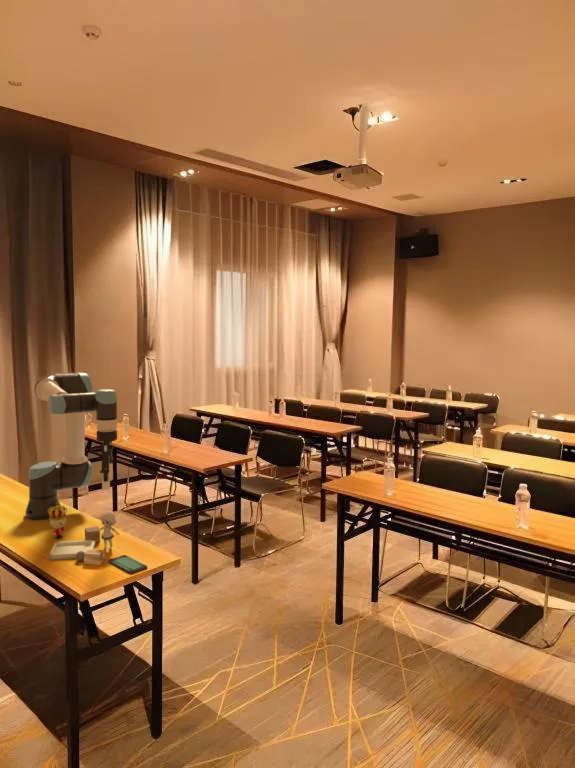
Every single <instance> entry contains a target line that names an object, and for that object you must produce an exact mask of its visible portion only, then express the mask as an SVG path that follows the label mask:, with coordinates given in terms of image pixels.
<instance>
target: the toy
mask: <svg viewBox="0 0 575 768" xmlns="http://www.w3.org/2000/svg"><path fill="white" fill-rule="evenodd" d="M59 502H60V501H59ZM59 502H57V503H59ZM53 508H54V509H53ZM60 508H61V509H60ZM49 510H50V511H49ZM54 510H55V512H53V511H54ZM60 510H61V511H60ZM67 511H68V508H67V507H66V506H64V505H61V507H60V506H59V505H58V504H57V505H56V506H55V507H54V506H53V507H51V508H50V509H48V513H49V525H50V526H51V527H52V528H54V529H55V530H54V531H52V534H53V536H55V539H61V538H62V537H63V534H64V533H63V531H64V530H65V525H66V524H67V523H66V522H67Z"/></svg>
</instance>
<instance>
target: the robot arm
mask: <svg viewBox="0 0 575 768" xmlns="http://www.w3.org/2000/svg"><path fill="white" fill-rule="evenodd" d="M34 393H35V395H36V396H37V397H38V399H40V401H41V400H42V401H44V402H47V407H48V410H49V414H51V415H63V414H64V456H63V457H62V458H60V459H61V460H60V462H61V463H59V464H57V462H56V461H54V460H53V461H50V460H49V461H42V462H38V463H36V464H33V465H32V466H30V467H29V468H28V469H29V470H28V478H27V479H28V492H29V493H28V494H29V495H28V496H29V497H28V502H27V504H26V508H25V518H27V519H30V520H34V521H35V520H38V521H39V520H48V519H49V513H48V509H50V508H51V507H53V506H54V507H55V506H56V505H57V504H58V505H59V506H60V507H61V506H62V505H61V503H60V500H59V497H58V491H61V490H62V491H63V490H67V489H75V488H82V487H87V486H88V485H90V483H91V481H92V477H93V469H92V467H93V465H92V462H91V461H90V460H89V459H88V457H87V456H86V455H85V442H86V441H85V440H86V439H85V435H86V434H85V433H86V432H85V430H86V429H85V428H86V413H93V412H94V413H95V412H96V413H95V417H96V421H95V422H94V424H95V425H96V430H97V431H96V441H98V442H102V443H103V444H102V445H101V448H100V449H101V470H100V471H99V473H100V474H101V481H102V482H101V490H102V491H104V490H105V491H106V490H109V491H110V490H111V485H110V484H111V480H114V470H113V467H114V464H115V459H114V455H113V449H114V448H113V447H114V445H113V442H115V441H117V440H118V431H117V429H118V406H117V405H118V397H117V391H116V390H115V389H111V388H102V389H97V390H95V391H94V387H93V382H92V379H91V377H90V375H89V374H88V373H86V372H64V373H63V372H62V373H57V372H55V373H48V374H46V375H43V376H42V377H40V378H39V379H38V380H37V381H36V383H35V385H34ZM113 463H114V464H113ZM57 502H59V503H57ZM61 508H62V507H61ZM61 508H60V509H61ZM53 509H54V508H53ZM49 511H50V510H49ZM60 511H61V510H60ZM53 512H55V510H54V511H53ZM49 520H50V519H49Z"/></svg>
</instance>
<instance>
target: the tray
mask: <svg viewBox="0 0 575 768" xmlns="http://www.w3.org/2000/svg"><path fill="white" fill-rule="evenodd" d="M95 546H96V543H95V539H94V540H85V539H80V540H64V541H62V540H61V541H55V542H54V544H53V545H52V548H51V550H50V552H49V554H48V560H49V561H51V560H55V561H56V560H68V559H76V554H77V553H78V552H79V551H83V552H86V551H87V550H89V549H95Z"/></svg>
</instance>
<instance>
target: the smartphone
mask: <svg viewBox="0 0 575 768" xmlns="http://www.w3.org/2000/svg"><path fill="white" fill-rule="evenodd" d="M108 563H109V564H111V565H113V566H114V567H116V568H118V569H120V570H122V571H123V572H125V573H127V574H129V575H134V574H136V573H139V572H141V571H144V570H147V569H148V565H146V564H144V563H143V562H140V561H139V560H137V559H134V558H132V557H130V556H129V555H126V554H123V555H120V556H115V557H113V558H110V559H108Z"/></svg>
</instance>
